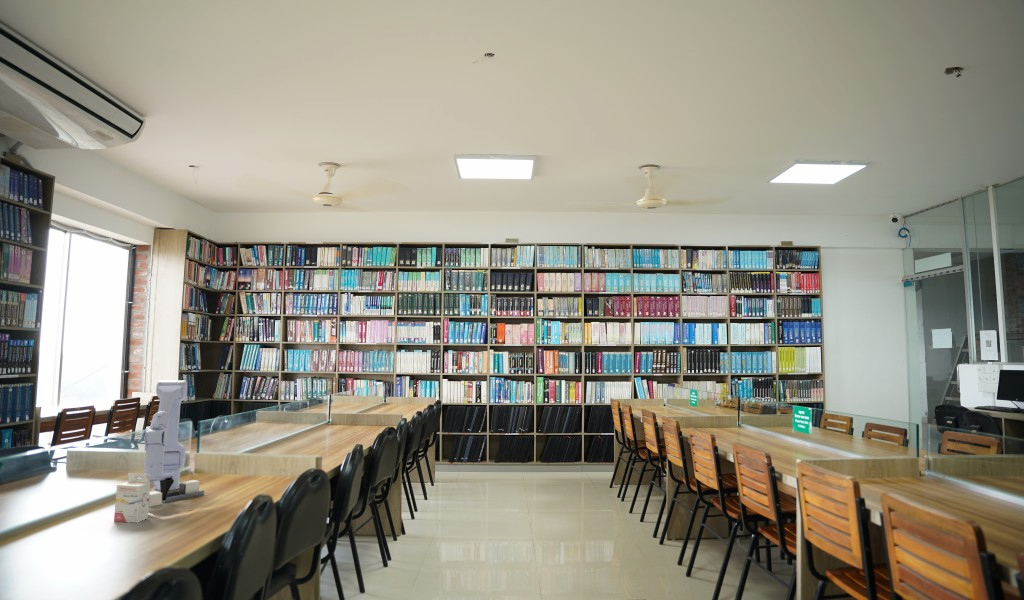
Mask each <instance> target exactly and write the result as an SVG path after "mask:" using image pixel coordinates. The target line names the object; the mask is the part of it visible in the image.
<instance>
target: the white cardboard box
mask: <svg viewBox="0 0 1024 600" xmlns="http://www.w3.org/2000/svg"><path fill="white" fill-rule="evenodd" d="M162 503H163V502H162V493H161V491H158V490H157V491H156V490H151V491H150V493H149V507H154V506H160V505H162Z"/></svg>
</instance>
